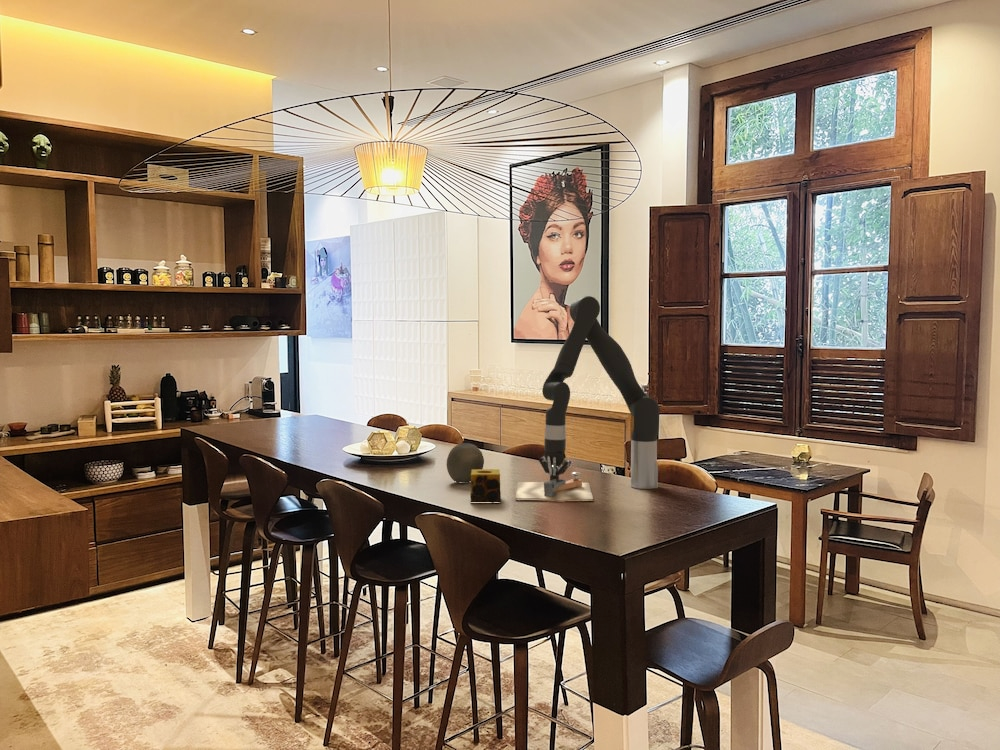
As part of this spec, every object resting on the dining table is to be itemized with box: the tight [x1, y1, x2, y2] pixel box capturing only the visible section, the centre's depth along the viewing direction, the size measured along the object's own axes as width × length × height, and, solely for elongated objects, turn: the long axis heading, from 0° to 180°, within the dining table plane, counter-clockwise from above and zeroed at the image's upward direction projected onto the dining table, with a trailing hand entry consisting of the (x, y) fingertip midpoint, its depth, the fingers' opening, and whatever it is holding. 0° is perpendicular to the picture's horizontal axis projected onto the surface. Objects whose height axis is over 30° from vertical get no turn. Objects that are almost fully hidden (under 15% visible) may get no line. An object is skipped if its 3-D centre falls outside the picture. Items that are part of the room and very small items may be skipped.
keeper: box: [543, 478, 567, 497], centre depth 262 cm, size 8×4×4 cm, turn 147°
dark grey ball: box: [446, 442, 485, 483], centre depth 287 cm, size 14×14×15 cm
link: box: [556, 478, 583, 491], centre depth 271 cm, size 18×4×2 cm, turn 135°
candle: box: [469, 468, 502, 502], centre depth 257 cm, size 10×10×10 cm
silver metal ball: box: [570, 471, 582, 480], centre depth 275 cm, size 3×3×3 cm
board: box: [515, 481, 594, 502], centre depth 270 cm, size 26×28×1 cm
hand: (554, 485), depth 272 cm, fingers closed
